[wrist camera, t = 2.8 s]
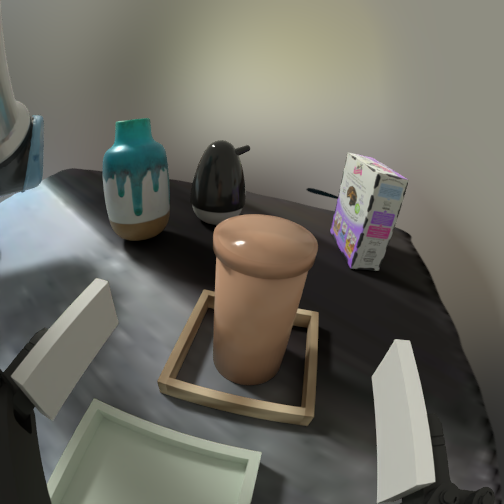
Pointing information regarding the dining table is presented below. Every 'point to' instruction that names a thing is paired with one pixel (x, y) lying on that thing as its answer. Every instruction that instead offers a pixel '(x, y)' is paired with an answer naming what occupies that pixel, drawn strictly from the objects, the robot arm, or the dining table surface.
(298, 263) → the canister
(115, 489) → the green tray
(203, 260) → the dining table surface
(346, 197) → the candy box
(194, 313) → the oak corral
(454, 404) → the dining table surface
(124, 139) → the vase
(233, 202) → the pump dispenser
